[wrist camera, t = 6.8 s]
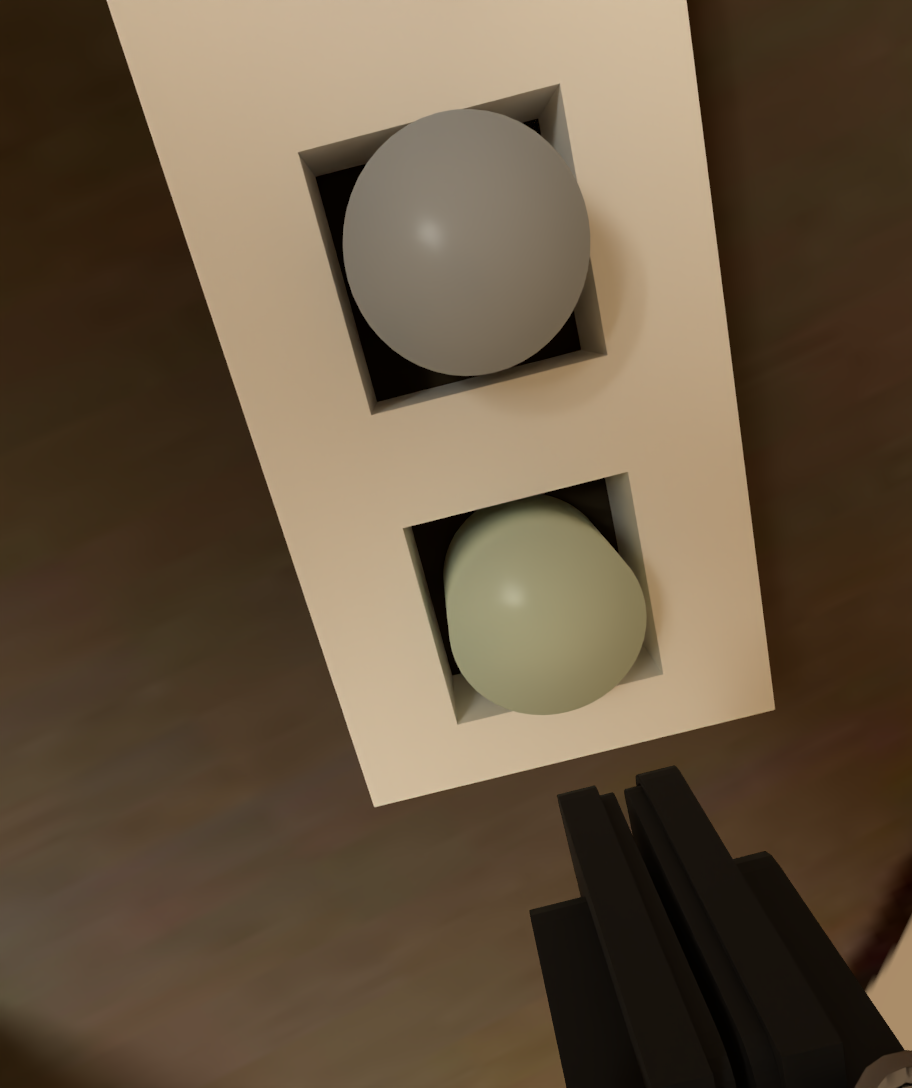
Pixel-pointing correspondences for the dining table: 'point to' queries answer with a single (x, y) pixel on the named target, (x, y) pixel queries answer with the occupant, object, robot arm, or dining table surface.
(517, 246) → the grey button
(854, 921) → the dining table surface
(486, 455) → the button panel
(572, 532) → the sage button
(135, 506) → the dining table surface
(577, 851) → the robot arm
